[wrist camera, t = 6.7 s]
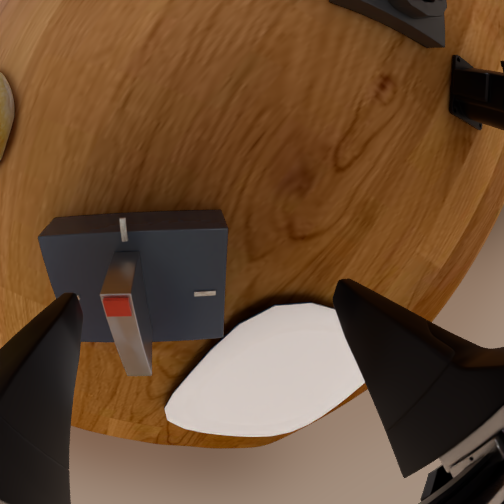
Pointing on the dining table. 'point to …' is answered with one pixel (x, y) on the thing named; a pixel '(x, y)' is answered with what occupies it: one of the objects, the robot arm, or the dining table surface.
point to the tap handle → (128, 312)
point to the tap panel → (144, 268)
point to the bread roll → (5, 112)
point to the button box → (406, 17)
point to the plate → (269, 374)
